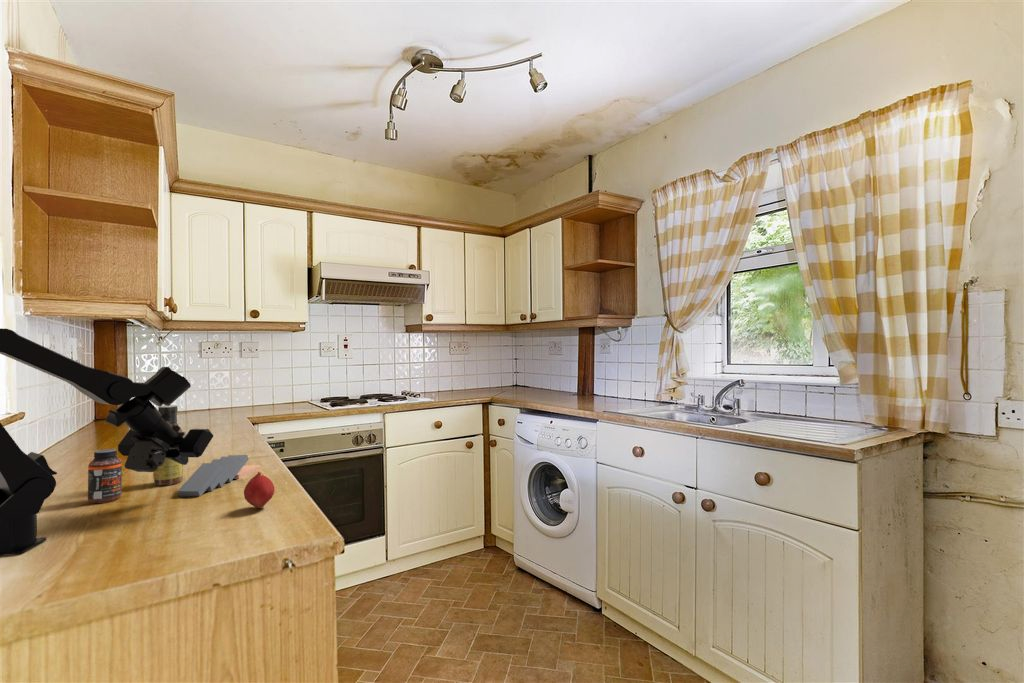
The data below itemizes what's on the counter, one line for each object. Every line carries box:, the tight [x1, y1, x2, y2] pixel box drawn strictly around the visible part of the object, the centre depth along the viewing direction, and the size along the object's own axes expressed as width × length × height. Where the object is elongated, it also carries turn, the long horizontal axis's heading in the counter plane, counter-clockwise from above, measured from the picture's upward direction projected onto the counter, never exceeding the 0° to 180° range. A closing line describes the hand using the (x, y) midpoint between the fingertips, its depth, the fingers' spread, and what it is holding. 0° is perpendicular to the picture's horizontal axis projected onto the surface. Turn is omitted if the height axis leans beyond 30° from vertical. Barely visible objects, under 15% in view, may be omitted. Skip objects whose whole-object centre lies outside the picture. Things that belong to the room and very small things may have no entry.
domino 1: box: [177, 462, 224, 497], centre depth 119 cm, size 2×5×10 cm
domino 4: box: [224, 454, 249, 484], centre depth 131 cm, size 2×5×10 cm
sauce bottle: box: [152, 404, 184, 486], centre depth 126 cm, size 7×6×20 cm
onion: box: [243, 470, 276, 509], centre depth 106 cm, size 6×6×8 cm
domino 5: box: [233, 464, 261, 480], centre depth 134 cm, size 2×5×10 cm
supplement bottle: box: [87, 448, 123, 504], centre depth 113 cm, size 6×6×11 cm
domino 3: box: [215, 456, 242, 488], centre depth 127 cm, size 2×5×10 cm
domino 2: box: [205, 458, 234, 492], centre depth 123 cm, size 2×5×10 cm
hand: (185, 463), depth 114 cm, fingers closed
